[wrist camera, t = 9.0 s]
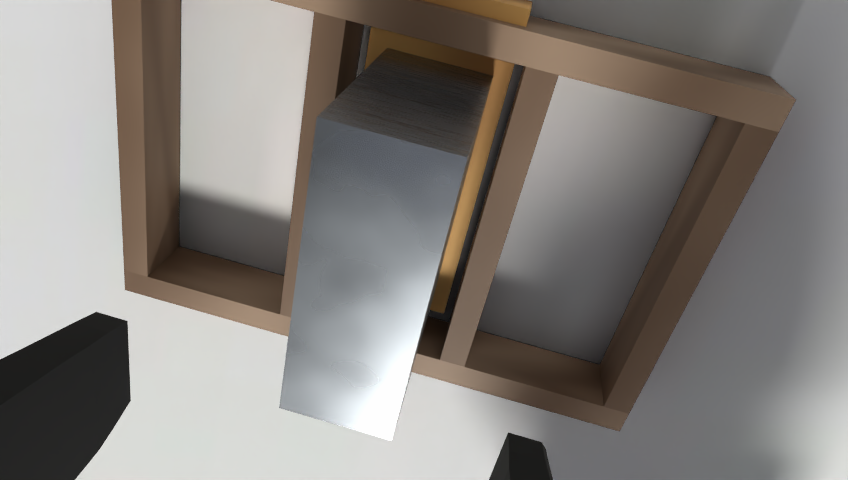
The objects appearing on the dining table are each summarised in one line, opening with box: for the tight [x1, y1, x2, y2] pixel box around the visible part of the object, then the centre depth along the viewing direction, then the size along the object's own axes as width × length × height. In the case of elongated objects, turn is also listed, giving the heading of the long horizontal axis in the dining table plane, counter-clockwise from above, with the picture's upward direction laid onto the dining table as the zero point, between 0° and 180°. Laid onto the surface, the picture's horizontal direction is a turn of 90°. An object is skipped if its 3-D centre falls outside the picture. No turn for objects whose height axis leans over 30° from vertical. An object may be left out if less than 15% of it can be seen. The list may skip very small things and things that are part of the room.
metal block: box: [279, 48, 493, 441], centre depth 17 cm, size 3×8×6 cm, turn 169°
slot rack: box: [112, 0, 796, 431], centre depth 18 cm, size 17×12×2 cm
